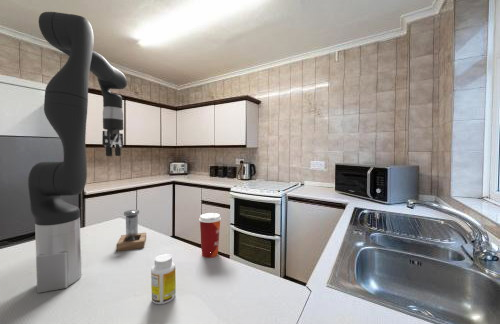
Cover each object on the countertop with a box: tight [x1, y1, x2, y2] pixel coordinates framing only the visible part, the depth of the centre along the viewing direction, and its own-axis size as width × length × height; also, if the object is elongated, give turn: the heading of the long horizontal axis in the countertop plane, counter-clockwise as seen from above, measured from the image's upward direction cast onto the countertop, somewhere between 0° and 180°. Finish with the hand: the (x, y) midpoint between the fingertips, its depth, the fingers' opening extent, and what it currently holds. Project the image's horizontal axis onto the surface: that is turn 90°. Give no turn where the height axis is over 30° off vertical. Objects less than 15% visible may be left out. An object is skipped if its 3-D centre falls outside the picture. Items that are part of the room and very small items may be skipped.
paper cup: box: [198, 212, 222, 259], centre depth 76 cm, size 8×8×14 cm
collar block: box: [115, 232, 147, 252], centre depth 84 cm, size 9×9×2 cm
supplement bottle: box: [150, 253, 177, 305], centre depth 53 cm, size 6×6×10 cm
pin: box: [123, 209, 140, 241], centre depth 83 cm, size 5×5×13 cm
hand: (113, 156), depth 94 cm, fingers open, 8 cm apart
